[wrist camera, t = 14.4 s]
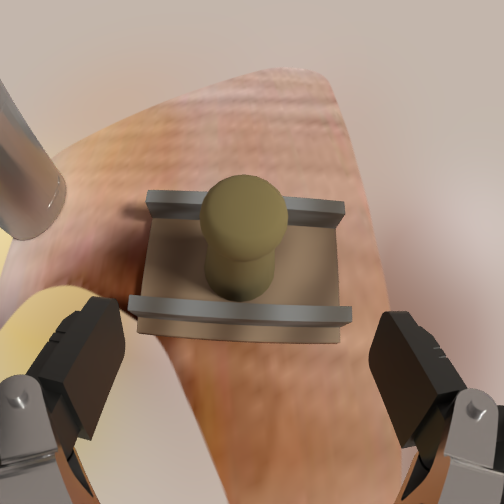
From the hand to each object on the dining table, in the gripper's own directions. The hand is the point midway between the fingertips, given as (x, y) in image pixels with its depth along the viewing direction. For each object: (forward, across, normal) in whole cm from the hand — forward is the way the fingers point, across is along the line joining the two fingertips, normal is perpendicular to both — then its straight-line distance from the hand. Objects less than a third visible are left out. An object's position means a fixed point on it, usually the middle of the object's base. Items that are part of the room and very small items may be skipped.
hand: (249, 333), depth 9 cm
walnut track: (+18, 0, +7) cm, 19 cm away
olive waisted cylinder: (+17, 0, +7) cm, 19 cm away
